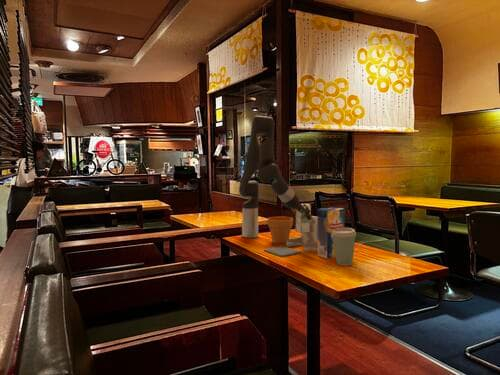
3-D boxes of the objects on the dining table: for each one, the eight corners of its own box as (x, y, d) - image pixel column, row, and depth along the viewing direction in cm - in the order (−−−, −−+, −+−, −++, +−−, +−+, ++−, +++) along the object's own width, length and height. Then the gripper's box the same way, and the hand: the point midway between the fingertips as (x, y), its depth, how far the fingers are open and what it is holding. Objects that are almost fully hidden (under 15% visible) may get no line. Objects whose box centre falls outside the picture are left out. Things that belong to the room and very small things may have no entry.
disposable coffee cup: (352, 268, 146) (352, 232, 145) (327, 264, 152) (327, 230, 151) (359, 262, 155) (359, 228, 154) (335, 259, 161) (335, 226, 160)
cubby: (286, 246, 185) (286, 216, 184) (303, 243, 192) (302, 214, 190) (305, 252, 173) (305, 220, 172) (322, 248, 180) (322, 217, 179)
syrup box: (304, 230, 185) (305, 203, 184) (310, 232, 180) (310, 204, 179) (295, 231, 184) (295, 203, 182) (300, 233, 178) (300, 205, 177)
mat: (264, 251, 177) (264, 249, 177) (282, 247, 184) (282, 246, 184) (281, 257, 165) (281, 255, 165) (301, 253, 172) (301, 251, 172)
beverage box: (344, 254, 168) (344, 208, 166) (327, 258, 162) (327, 210, 160) (334, 251, 174) (334, 207, 172) (317, 255, 168) (317, 209, 166)
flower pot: (264, 239, 203) (264, 217, 202) (287, 237, 207) (287, 215, 206) (272, 245, 189) (272, 221, 188) (297, 243, 193) (297, 219, 192)
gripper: (301, 191, 170) (319, 213, 177) (282, 189, 182) (299, 210, 189) (293, 203, 167) (311, 225, 175) (274, 200, 179) (292, 221, 187)
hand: (305, 217), depth 182 cm, fingers closed on syrup box, 6 cm apart
